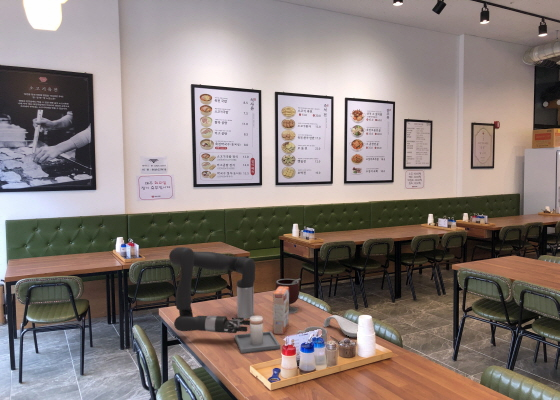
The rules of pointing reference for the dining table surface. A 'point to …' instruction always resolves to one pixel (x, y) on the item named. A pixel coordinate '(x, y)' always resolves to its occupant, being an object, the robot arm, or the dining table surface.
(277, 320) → the cracker box
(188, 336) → the dining table surface
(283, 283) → the mate gourd
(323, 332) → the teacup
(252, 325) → the salt shaker
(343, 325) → the spoon rest
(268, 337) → the tray
